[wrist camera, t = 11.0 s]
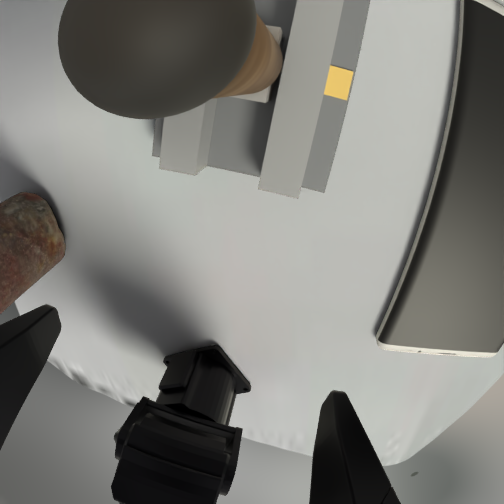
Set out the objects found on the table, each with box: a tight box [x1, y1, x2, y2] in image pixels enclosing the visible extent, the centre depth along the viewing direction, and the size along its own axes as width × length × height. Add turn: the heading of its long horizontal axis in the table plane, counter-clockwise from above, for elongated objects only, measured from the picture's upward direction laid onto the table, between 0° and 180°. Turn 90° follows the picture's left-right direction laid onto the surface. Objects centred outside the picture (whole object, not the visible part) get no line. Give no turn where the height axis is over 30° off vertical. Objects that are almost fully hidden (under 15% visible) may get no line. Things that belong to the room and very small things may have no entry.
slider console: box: [152, 0, 370, 199], centre depth 13 cm, size 17×10×4 cm, turn 170°
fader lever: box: [58, 0, 284, 119], centre depth 8 cm, size 4×4×13 cm
